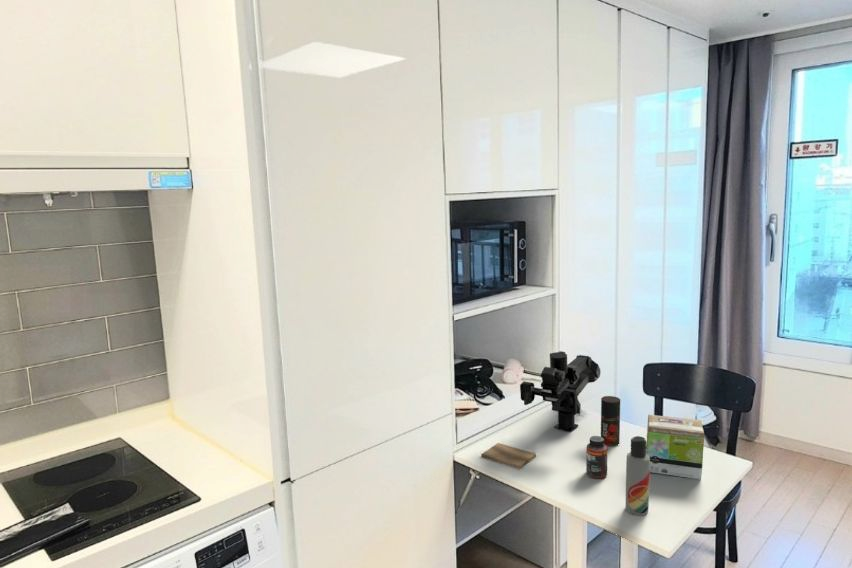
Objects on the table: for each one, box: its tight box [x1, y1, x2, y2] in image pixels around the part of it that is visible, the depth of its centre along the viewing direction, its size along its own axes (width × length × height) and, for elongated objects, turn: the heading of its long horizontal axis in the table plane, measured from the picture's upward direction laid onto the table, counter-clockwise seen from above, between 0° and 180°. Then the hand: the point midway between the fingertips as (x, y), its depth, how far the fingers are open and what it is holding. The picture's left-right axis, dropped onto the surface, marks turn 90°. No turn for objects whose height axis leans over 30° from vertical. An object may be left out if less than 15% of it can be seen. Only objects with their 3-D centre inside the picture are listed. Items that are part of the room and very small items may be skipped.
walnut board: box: [480, 442, 537, 470], centre depth 184 cm, size 10×14×1 cm
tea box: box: [646, 414, 705, 481], centre depth 172 cm, size 15×10×15 cm
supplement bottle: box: [585, 435, 608, 479], centre depth 170 cm, size 6×6×11 cm
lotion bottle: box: [625, 435, 651, 516], centre depth 150 cm, size 6×6×20 cm
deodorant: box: [600, 395, 621, 447], centre depth 191 cm, size 6×6×15 cm
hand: (538, 406), depth 181 cm, fingers open, 9 cm apart
